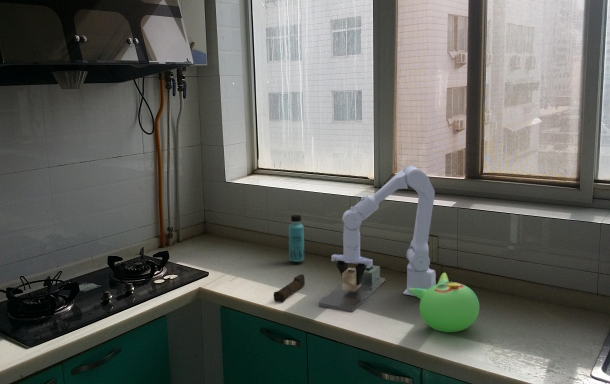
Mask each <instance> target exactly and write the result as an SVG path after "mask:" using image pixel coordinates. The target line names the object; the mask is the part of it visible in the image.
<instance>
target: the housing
mask: <svg viewBox="0 0 610 384" xmlns="http://www.w3.org/2000/svg"><path fill="white" fill-rule="evenodd" d="M354 268H355V267H353V268H352V267H348V269H347V270H346V271H344V272H343V273H342V276H341V279H342V283H341V284H342V290H347V291H353V292H355V291H356V290H357V289H358V288H359V287H360V286H361V284H360V285H357V283H356V279H357V276H356V269H354Z"/></svg>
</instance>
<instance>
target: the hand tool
mask: <svg viewBox="0 0 610 384" xmlns="http://www.w3.org/2000/svg"><path fill="white" fill-rule="evenodd" d="M305 282H306V281H305V275H304V274H303V273H302V274H298V275H297V276H294V277H293V280H292V281H291V282H289V283H288V284H287V285H285V286H283V287H282V288H281V289H279V290H277V291H274V293H273V300H274V301H275V302H277V303H283V302H284V301H285V300H286V299H287V298H288V297H290V296H292V295H293V293H295V292H297V291H298V290H299V291H300V290H301V289H303V288H304V286H305V284H306V283H305Z"/></svg>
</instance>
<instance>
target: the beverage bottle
mask: <svg viewBox="0 0 610 384" xmlns="http://www.w3.org/2000/svg"><path fill="white" fill-rule="evenodd" d="M290 218H291V219H290V221H291V223H290V224H289V225H288V259H289V261H291V262H295V263H297V262H302V261H304V260H305V230H304V229H305V228H304V227H305V225H304V224H302V222H301V221H302V216H301V214H292V215H291V217H290Z"/></svg>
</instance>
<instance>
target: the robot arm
mask: <svg viewBox="0 0 610 384" xmlns="http://www.w3.org/2000/svg"><path fill="white" fill-rule="evenodd" d="M408 186H409V187H411V188H412V189H413V190H415V192H417V194H418V198H417V199H418V200H417V207H416V215H415V222H414V228H413V229H414V231H413V237H412V240H411V241H410V246H409V248H408V249H407V250H406V259H407V260H408V261H409V262H408V264H407V266H406V269H407V270H406V271H407V272H406V275H407V277H406V289H405V290H404V291H403V292H402V293H403V295H406V296H407V295H408V296H412V297H416V296H415V295H413V294H412V293H410V292H409V291H408V289H409V288H421V289H429V288H430V287H432V286H434V285H436V284H437V283H436V279H437V278H436V277H437V275H436V270H435V269H431V268H430V265H431V259H430V257H429V254H430V253H429V252H430V250H429V249H430V247H429V236H430V228H431V222H432V215H433V208H434V202H435V201H434V200H435V194H436V191H435V189H434V187H433V185H432V182H431V180H430V178H429V176H428V175H427V174H426V172H424V171H422V170H421V169H419V168H418V167H417V166H416V165H413V164H412V165H411V164H410V165H407V166H405V167H404V168H403V169H401V170H400V171H398V172H397V173H396V174H395V175H394V176H393V177H391V179H390V180H388V181H387V183H385V184H384V185H382V187H381V188H380V189H378V191H376V192H375V193H374V194H373V195H369V194H368V195H366V196H364V195H363V196H362V197H361V198H360V199H361V200H360V201H358V202H357V203H356V204H355V205H354V206H353V205H352V206H351V207H350V209H348V210H345V211H344V213H343V215H342V217H341V220H342V222H343V228H342V229H343V231H342V232H343V233H342V240H343V241H342V242H343V243H342V245H343V254H335V253H334V254H332V255H331V259H330V260H331V262H337V263H336V267H337V268H338V271H339V272H340V276H341V277H342V273H343V272H344V271H346V270H347V269H348V268H349V264H355V266H354V268H355V269H356V276H357V279H356V283H357V285H360V284H361V279H362V275H363V273H364V270H365V268H366V266H367V265H368V266H370V267H371V266H372V265H374V263H373V262H374V261H373V259H371V258H368V257H363V256H361V231H360V227H361V225H362V221H365V220H367V218H368V217H370V216H371V215H372V214H373V213H375V212H376V211H377V210H379V208H380V207H379V206H380V203H381V202H383V201H384V200H385V199H386V198H388V197H389V196H390V195H393V193H395V192H396V191H397V190H402V189H406V190H407V189H408Z"/></svg>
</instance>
